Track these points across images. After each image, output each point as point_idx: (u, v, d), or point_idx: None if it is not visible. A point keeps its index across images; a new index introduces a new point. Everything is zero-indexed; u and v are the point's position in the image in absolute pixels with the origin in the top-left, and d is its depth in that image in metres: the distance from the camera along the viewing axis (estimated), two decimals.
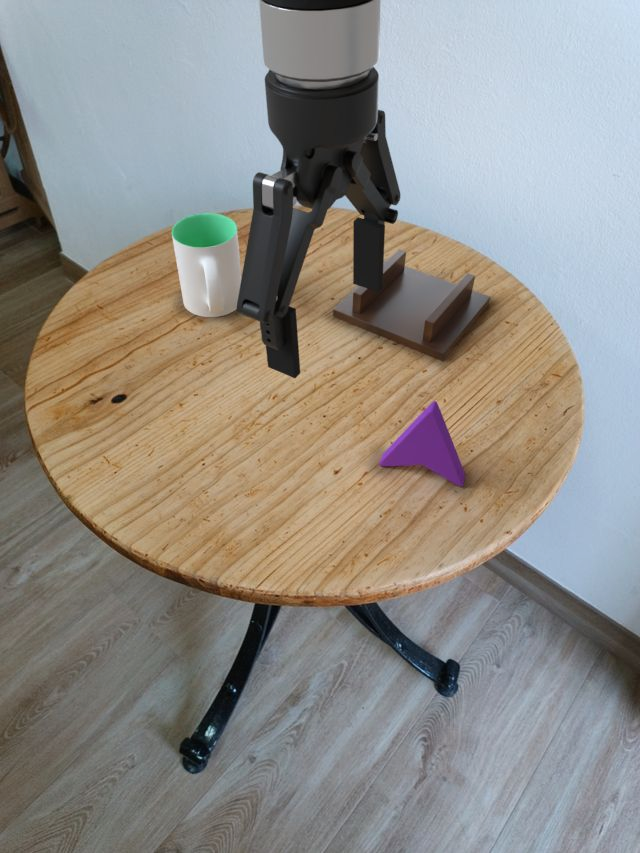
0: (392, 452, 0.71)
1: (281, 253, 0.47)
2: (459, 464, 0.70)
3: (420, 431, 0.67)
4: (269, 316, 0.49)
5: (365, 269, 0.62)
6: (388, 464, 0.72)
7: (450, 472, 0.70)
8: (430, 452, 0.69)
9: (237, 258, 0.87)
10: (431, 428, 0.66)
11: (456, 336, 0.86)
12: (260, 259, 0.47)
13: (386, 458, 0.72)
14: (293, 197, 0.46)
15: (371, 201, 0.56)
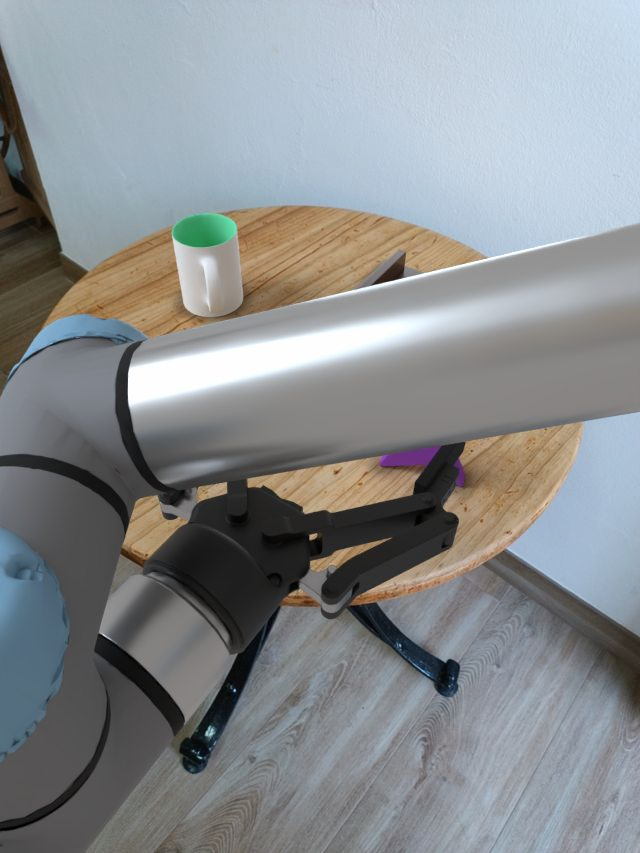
0: None
1: (387, 548, 0.40)
2: (459, 464, 0.70)
3: None
4: (450, 519, 0.42)
5: None
6: (388, 464, 0.72)
7: None
8: (430, 452, 0.69)
9: (237, 258, 0.87)
10: None
11: None
12: (401, 563, 0.41)
13: (386, 458, 0.72)
14: (330, 573, 0.39)
15: None
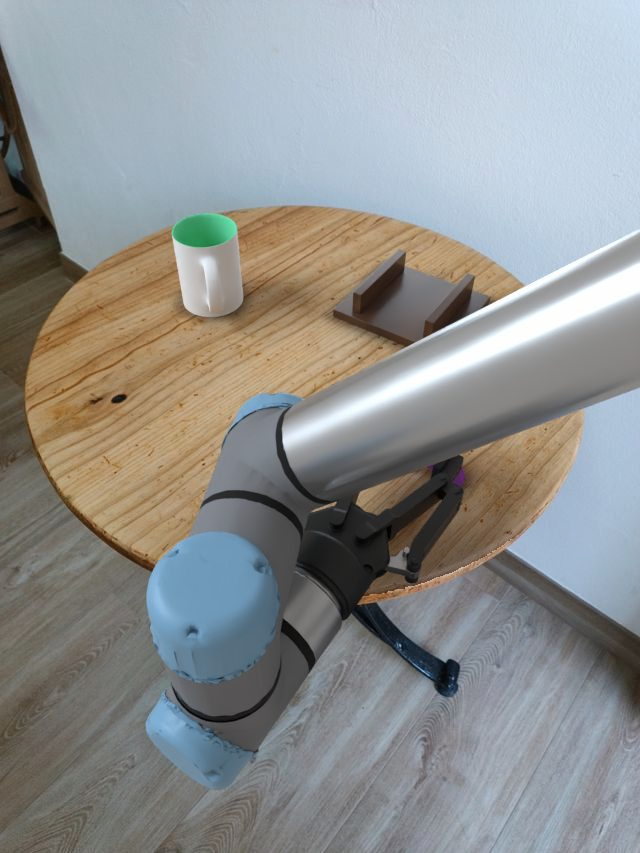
0: None
1: (431, 523, 0.59)
2: None
3: None
4: (458, 490, 0.61)
5: None
6: None
7: None
8: None
9: (237, 258, 0.87)
10: None
11: None
12: (441, 530, 0.60)
13: None
14: (407, 553, 0.57)
15: None
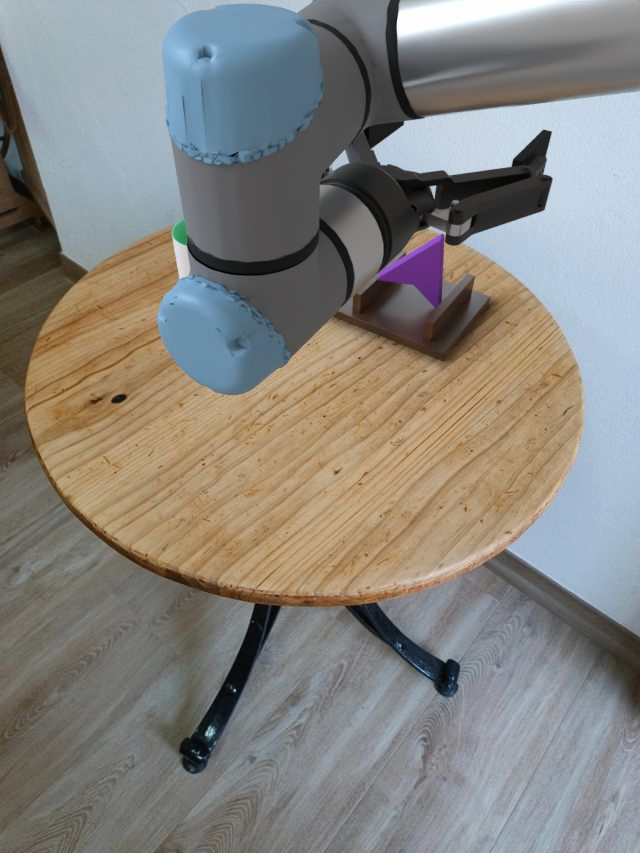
0: (393, 269, 0.87)
1: (497, 192, 0.50)
2: (441, 291, 0.88)
3: (424, 255, 0.84)
4: (546, 177, 0.51)
5: None
6: (385, 279, 0.88)
7: (434, 295, 0.88)
8: (424, 275, 0.86)
9: None
10: (434, 255, 0.83)
11: (456, 336, 0.86)
12: (508, 208, 0.51)
13: (386, 274, 0.88)
14: (455, 204, 0.49)
15: (364, 139, 0.56)
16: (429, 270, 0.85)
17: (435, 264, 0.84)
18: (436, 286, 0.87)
